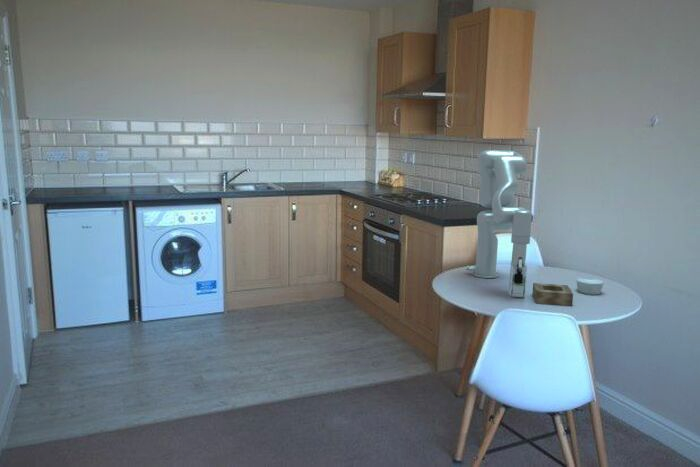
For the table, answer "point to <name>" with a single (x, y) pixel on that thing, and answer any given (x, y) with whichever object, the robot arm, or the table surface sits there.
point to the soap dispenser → (517, 288)
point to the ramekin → (589, 286)
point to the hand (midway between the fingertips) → (517, 280)
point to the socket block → (552, 294)
